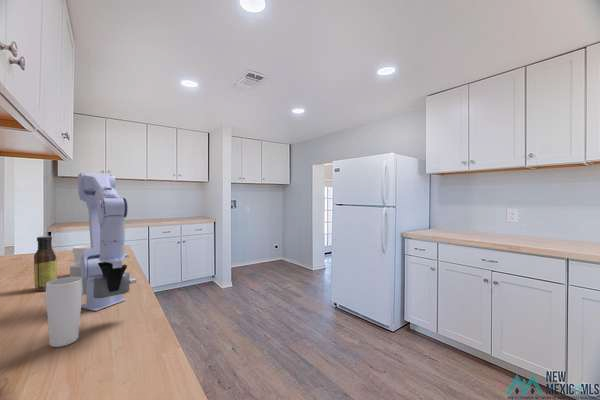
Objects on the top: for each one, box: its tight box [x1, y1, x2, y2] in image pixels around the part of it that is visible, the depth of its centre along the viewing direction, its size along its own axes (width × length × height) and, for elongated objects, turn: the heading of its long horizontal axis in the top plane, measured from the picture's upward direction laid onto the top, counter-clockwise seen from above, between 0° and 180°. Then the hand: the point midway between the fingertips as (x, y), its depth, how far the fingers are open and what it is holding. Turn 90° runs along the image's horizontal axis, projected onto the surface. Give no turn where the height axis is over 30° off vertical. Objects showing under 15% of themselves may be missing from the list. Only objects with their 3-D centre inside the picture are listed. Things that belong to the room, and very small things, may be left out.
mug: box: [69, 262, 87, 295], centre depth 101 cm, size 11×10×10 cm
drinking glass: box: [45, 276, 84, 348], centre depth 66 cm, size 7×7×15 cm
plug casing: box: [93, 272, 137, 298], centre depth 77 cm, size 10×4×5 cm, turn 134°
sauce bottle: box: [33, 235, 58, 292], centre depth 102 cm, size 6×6×20 cm
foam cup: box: [72, 243, 91, 264], centre depth 120 cm, size 10×9×13 cm
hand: (112, 288), depth 76 cm, fingers closed on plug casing, 4 cm apart
